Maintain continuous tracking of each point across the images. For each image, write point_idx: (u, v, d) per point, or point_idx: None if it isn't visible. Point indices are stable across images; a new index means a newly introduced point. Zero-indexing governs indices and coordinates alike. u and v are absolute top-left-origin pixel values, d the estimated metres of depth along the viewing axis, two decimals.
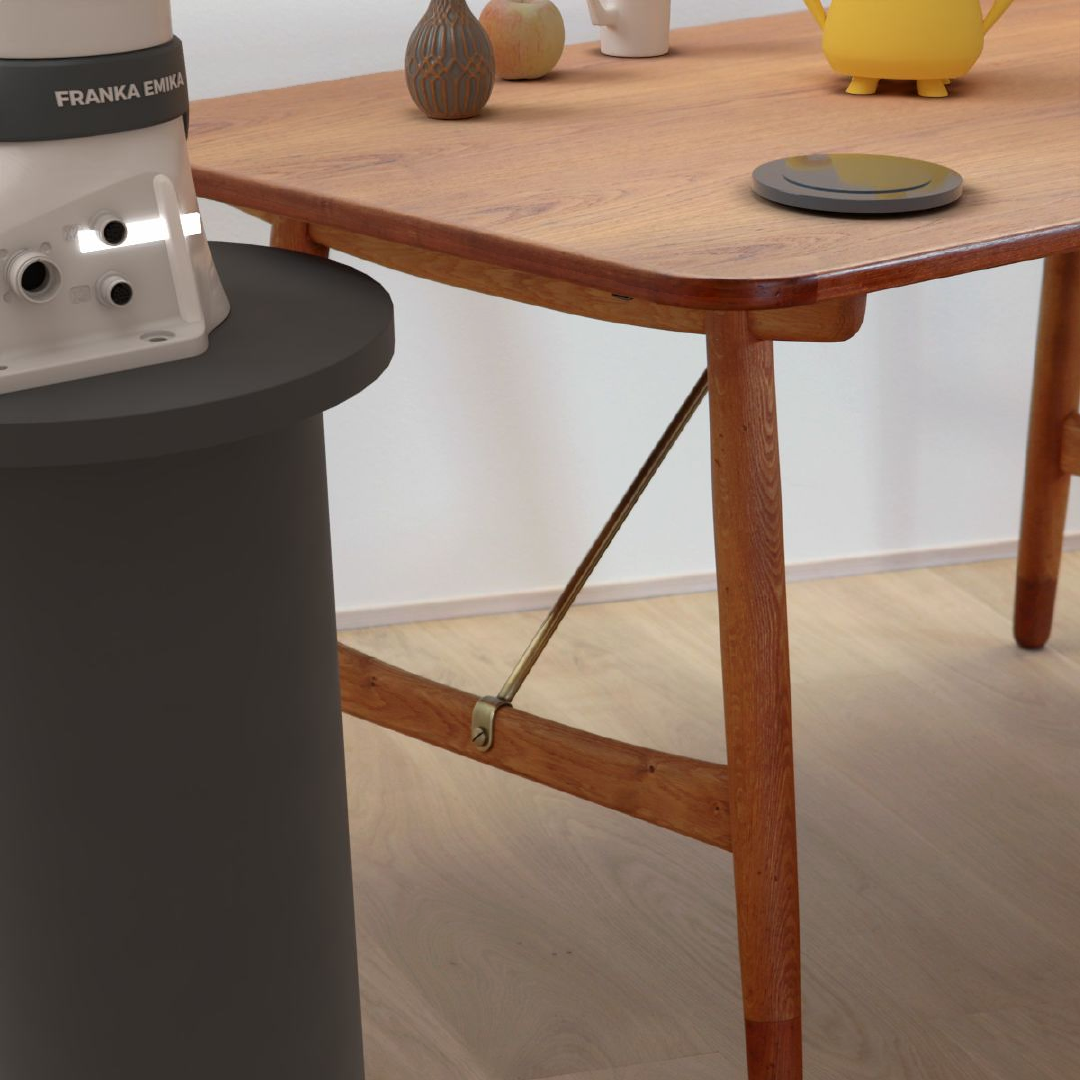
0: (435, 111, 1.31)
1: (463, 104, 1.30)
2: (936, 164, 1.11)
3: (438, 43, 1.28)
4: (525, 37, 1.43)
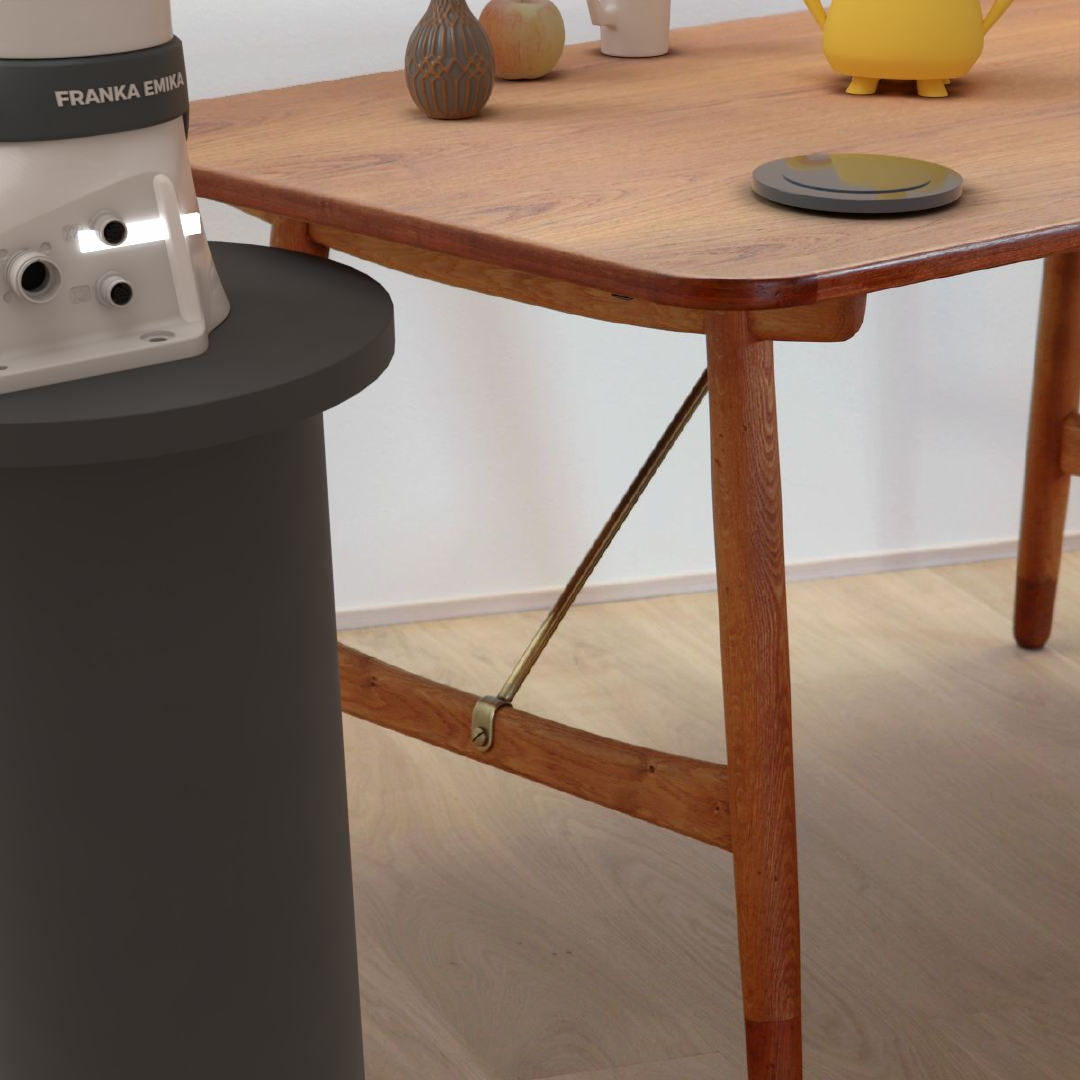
0: (435, 111, 1.31)
1: (463, 104, 1.30)
2: (936, 164, 1.11)
3: (438, 43, 1.28)
4: (525, 37, 1.43)
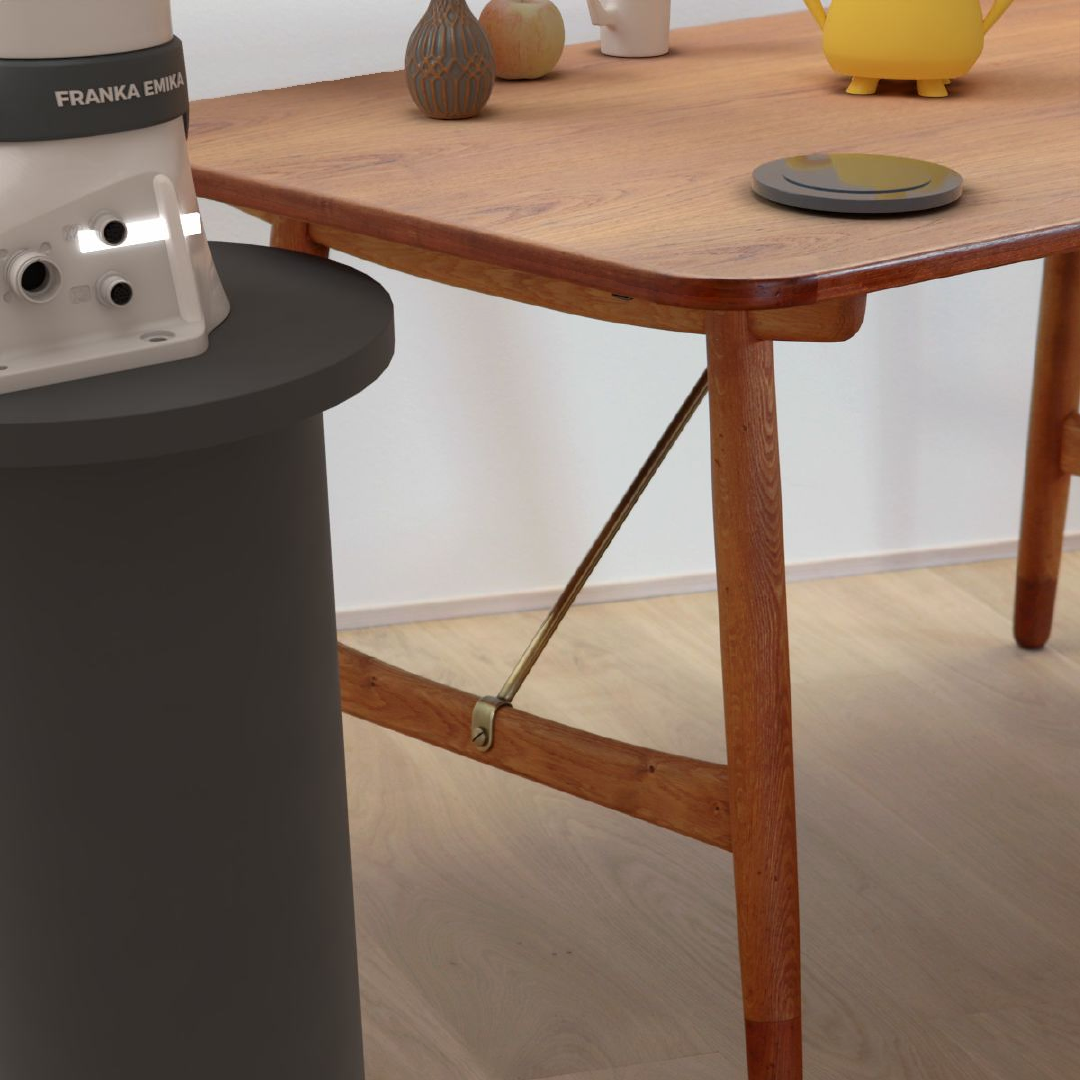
0: (435, 111, 1.31)
1: (463, 104, 1.30)
2: (936, 164, 1.11)
3: (438, 43, 1.28)
4: (525, 37, 1.43)
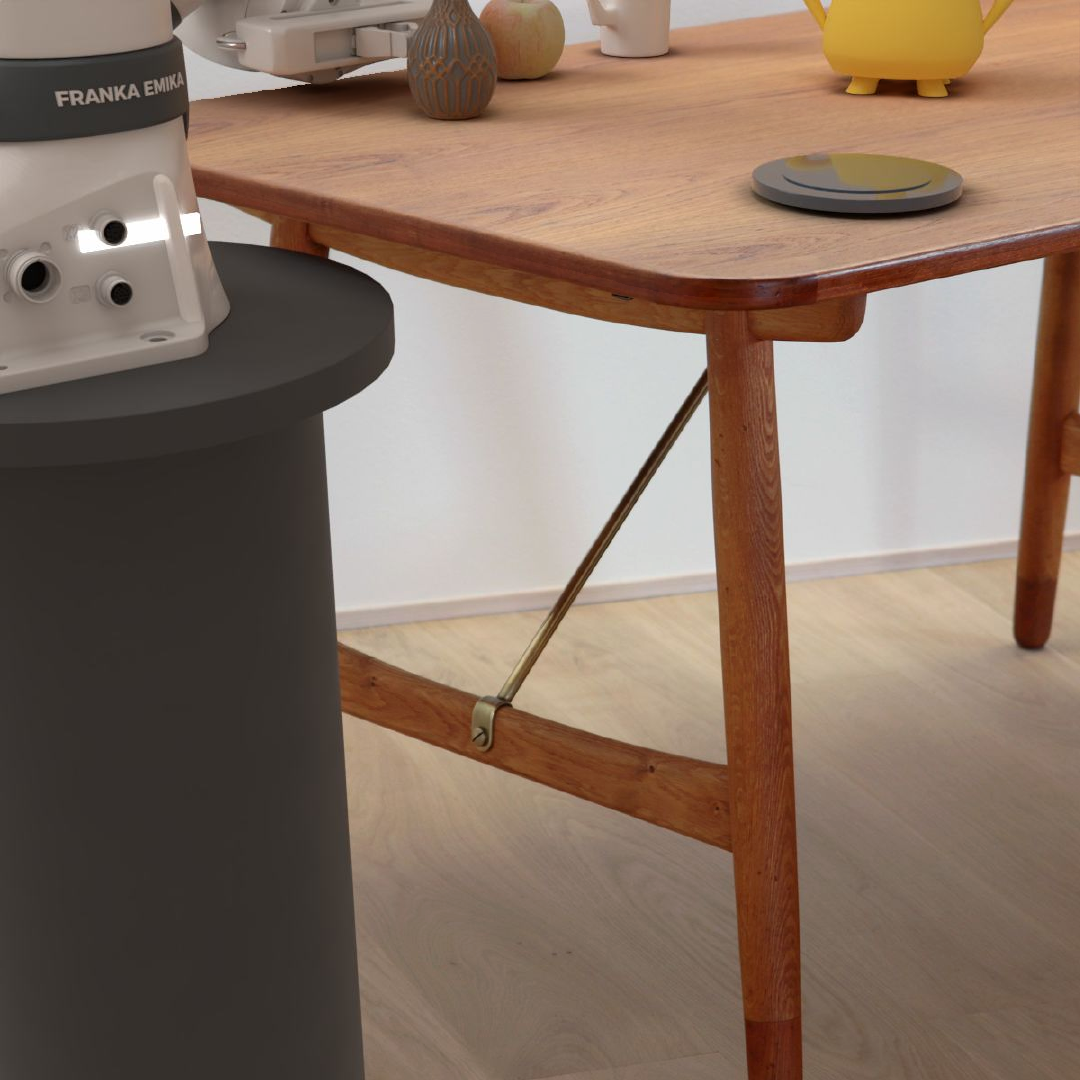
0: (437, 111, 1.31)
1: (465, 104, 1.30)
2: (936, 164, 1.11)
3: (440, 43, 1.28)
4: (525, 37, 1.43)
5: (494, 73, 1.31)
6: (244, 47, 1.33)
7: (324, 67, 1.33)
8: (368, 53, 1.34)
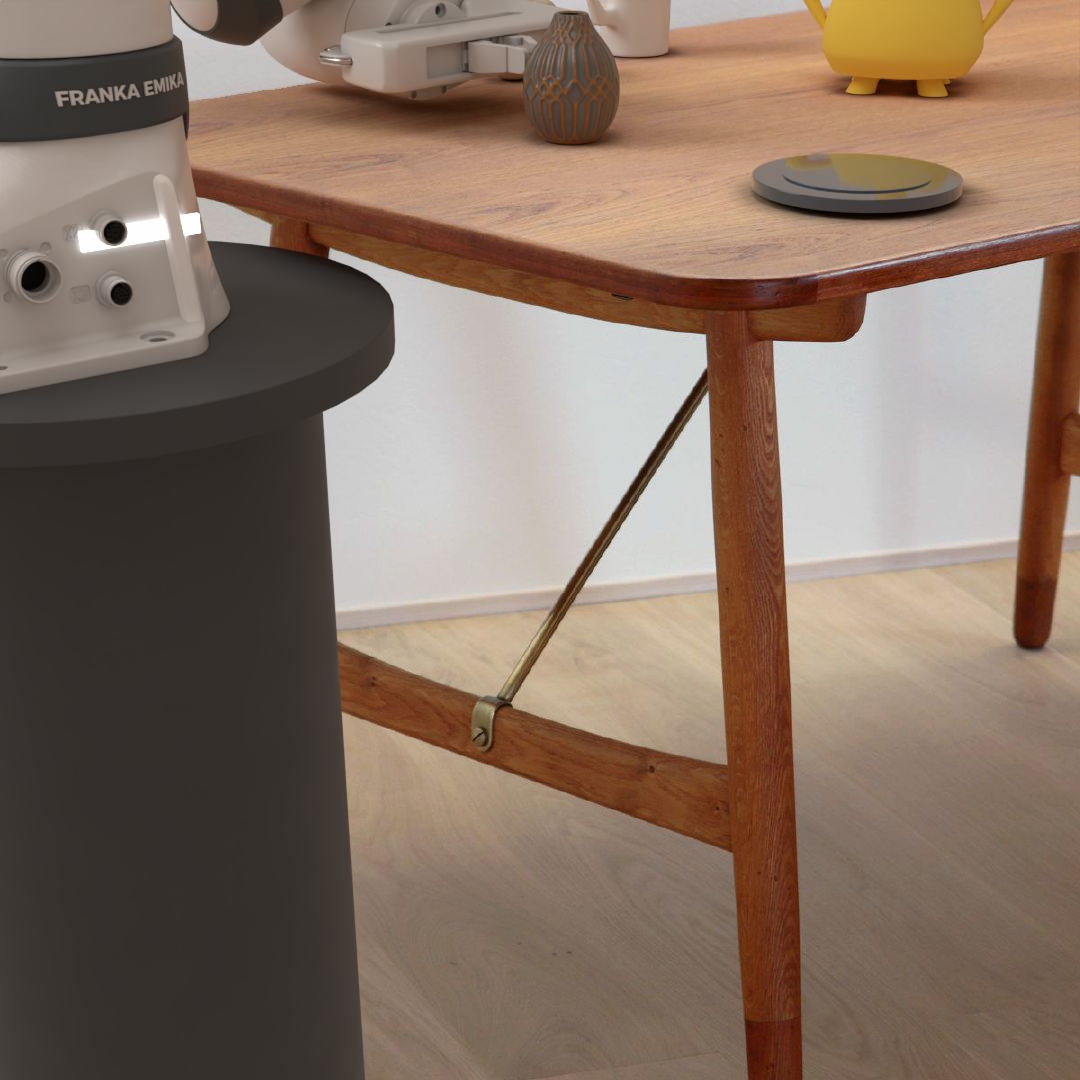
0: (553, 135, 1.22)
1: (582, 128, 1.22)
2: (936, 164, 1.11)
3: (558, 63, 1.20)
4: None
5: (615, 95, 1.22)
6: (351, 63, 1.25)
7: (436, 84, 1.25)
8: (482, 69, 1.26)
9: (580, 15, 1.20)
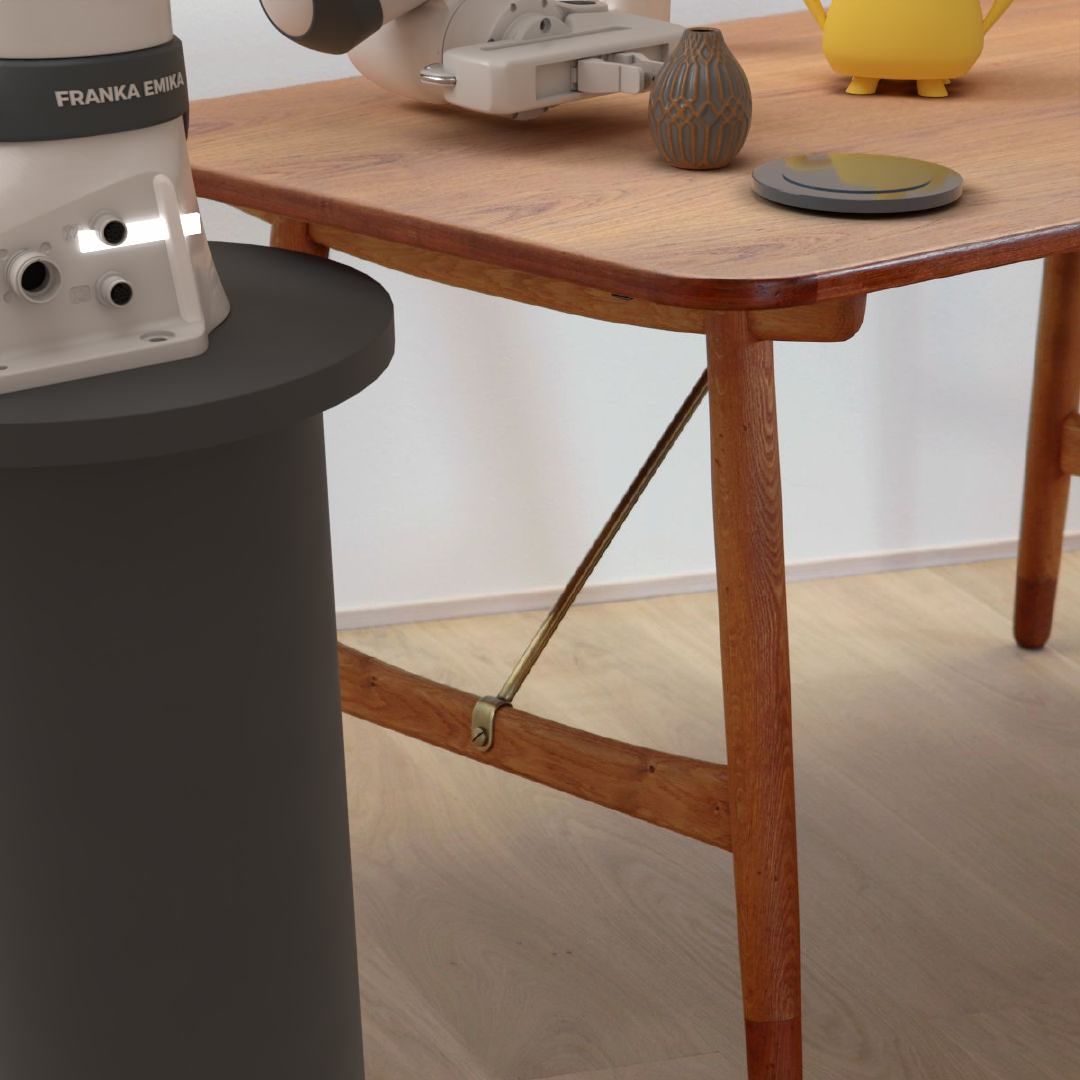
0: (681, 160, 1.15)
1: (714, 153, 1.14)
2: (936, 164, 1.11)
3: (689, 84, 1.12)
4: None
5: (748, 118, 1.14)
6: (454, 82, 1.18)
7: (544, 105, 1.18)
8: (592, 88, 1.19)
9: (713, 32, 1.13)
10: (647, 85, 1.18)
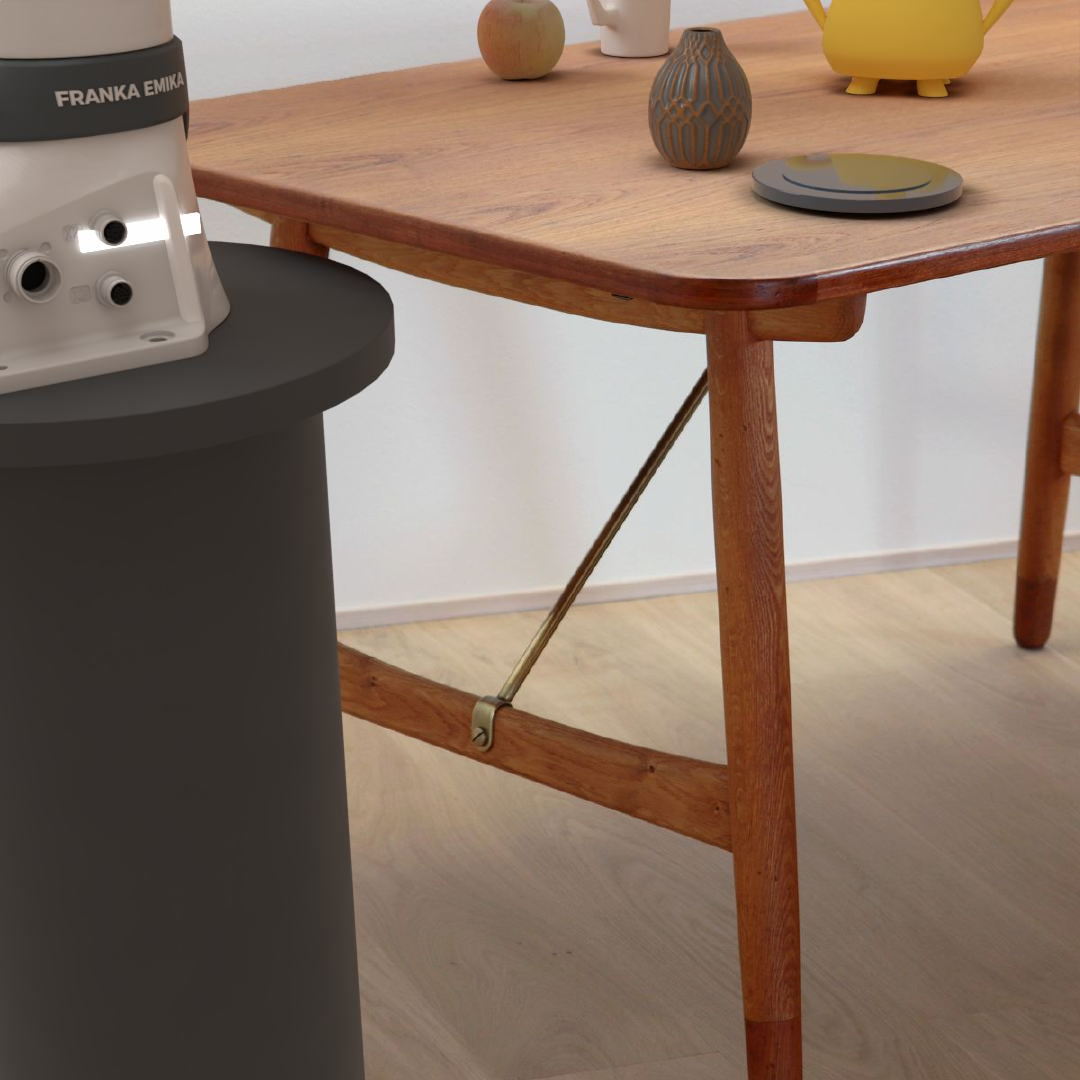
0: (681, 160, 1.15)
1: (714, 153, 1.14)
2: (936, 164, 1.11)
3: (689, 84, 1.12)
4: (525, 37, 1.43)
5: (748, 118, 1.14)
6: None
7: None
8: None
9: (713, 32, 1.13)
10: None
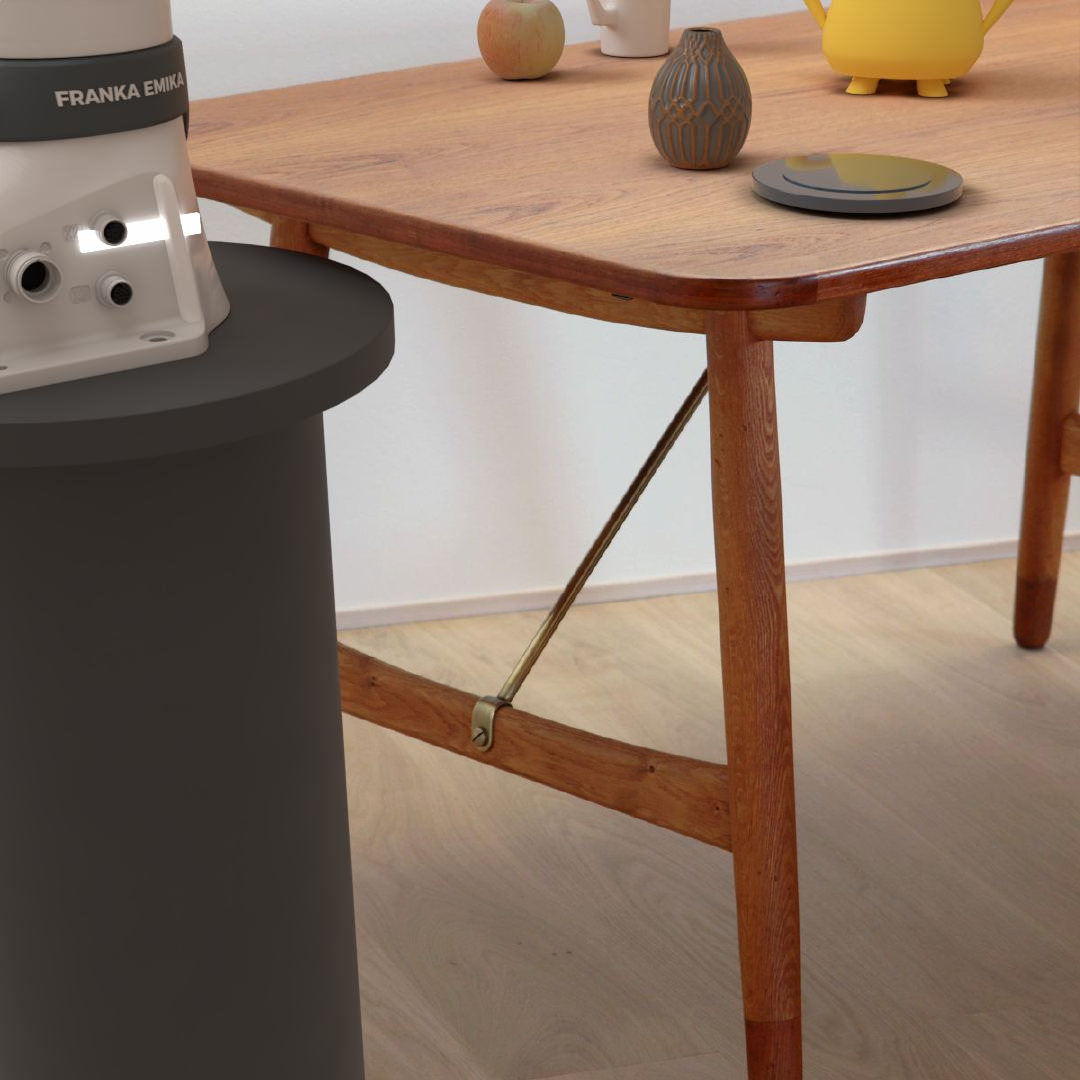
0: (681, 160, 1.15)
1: (714, 153, 1.14)
2: (936, 164, 1.11)
3: (689, 84, 1.12)
4: (525, 37, 1.43)
5: (748, 117, 1.14)
6: None
7: None
8: None
9: (713, 32, 1.13)
10: None
